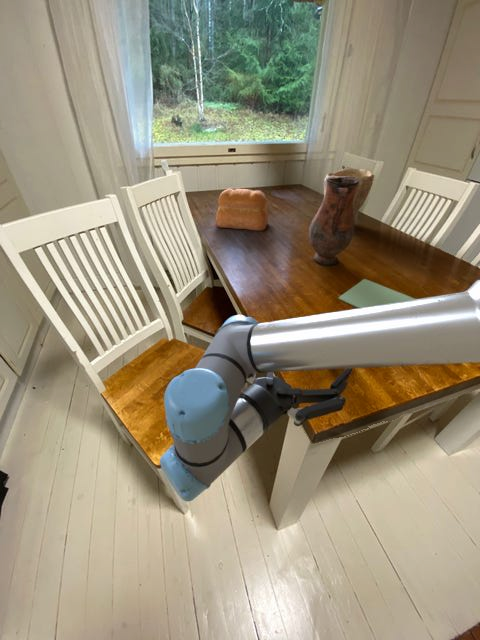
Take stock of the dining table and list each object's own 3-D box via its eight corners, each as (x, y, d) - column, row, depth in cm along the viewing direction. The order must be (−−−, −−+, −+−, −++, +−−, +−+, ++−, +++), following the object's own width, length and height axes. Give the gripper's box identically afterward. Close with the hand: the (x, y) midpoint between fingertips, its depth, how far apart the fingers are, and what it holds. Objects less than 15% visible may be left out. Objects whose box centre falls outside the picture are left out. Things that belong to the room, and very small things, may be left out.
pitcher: (344, 252, 118) (364, 175, 99) (347, 276, 101) (373, 190, 83) (305, 248, 120) (318, 173, 102) (302, 271, 104) (317, 186, 85)
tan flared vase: (323, 214, 158) (332, 165, 142) (363, 220, 150) (378, 169, 134) (311, 226, 142) (321, 172, 127) (356, 234, 134) (372, 178, 118)
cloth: (422, 303, 88) (422, 301, 88) (399, 327, 79) (400, 326, 78) (364, 279, 100) (364, 278, 99) (338, 298, 90) (338, 297, 90)
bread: (221, 218, 151) (220, 184, 140) (268, 222, 147) (271, 187, 136) (213, 228, 139) (212, 192, 128) (264, 232, 135) (267, 195, 124)
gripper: (205, 384, 55) (273, 337, 67) (306, 482, 42) (370, 400, 53) (202, 359, 51) (276, 312, 62) (315, 459, 37) (383, 375, 48)
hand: (320, 353), depth 58 cm, fingers open, 13 cm apart
